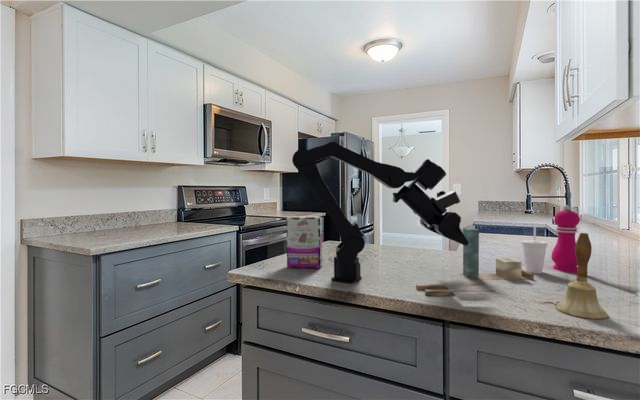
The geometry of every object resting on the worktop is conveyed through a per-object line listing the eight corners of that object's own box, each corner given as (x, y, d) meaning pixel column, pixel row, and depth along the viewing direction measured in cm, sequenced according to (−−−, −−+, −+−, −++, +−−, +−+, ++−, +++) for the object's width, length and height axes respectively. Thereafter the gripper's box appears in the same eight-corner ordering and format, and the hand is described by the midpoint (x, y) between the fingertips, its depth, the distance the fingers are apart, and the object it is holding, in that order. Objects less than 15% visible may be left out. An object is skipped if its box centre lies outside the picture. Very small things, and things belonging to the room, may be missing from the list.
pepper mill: (571, 269, 102) (572, 204, 102) (587, 276, 95) (588, 205, 94) (545, 269, 103) (546, 204, 102) (560, 275, 96) (561, 205, 95)
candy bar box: (323, 265, 111) (322, 216, 110) (320, 269, 106) (320, 217, 105) (290, 264, 113) (289, 215, 112) (286, 267, 108) (285, 217, 107)
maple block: (504, 278, 89) (504, 261, 89) (495, 274, 93) (495, 258, 93) (521, 278, 89) (521, 261, 89) (512, 274, 93) (512, 258, 93)
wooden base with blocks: (467, 283, 89) (468, 230, 88) (458, 276, 95) (459, 227, 94) (533, 283, 88) (534, 230, 87) (520, 277, 94) (520, 227, 94)
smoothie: (523, 276, 95) (523, 227, 94) (519, 271, 101) (519, 225, 100) (549, 278, 92) (550, 228, 92) (544, 273, 98) (544, 225, 98)
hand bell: (585, 304, 72) (586, 230, 71) (619, 319, 64) (621, 235, 63) (546, 304, 72) (547, 230, 71) (575, 319, 64) (577, 236, 63)
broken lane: (421, 295, 79) (421, 291, 79) (414, 286, 86) (414, 282, 86) (498, 295, 78) (498, 291, 78) (484, 287, 85) (484, 283, 85)
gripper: (452, 180, 82) (498, 224, 82) (430, 181, 101) (468, 217, 100) (420, 212, 82) (466, 256, 82) (404, 208, 101) (441, 244, 101)
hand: (460, 241), depth 91 cm, fingers open, 9 cm apart
